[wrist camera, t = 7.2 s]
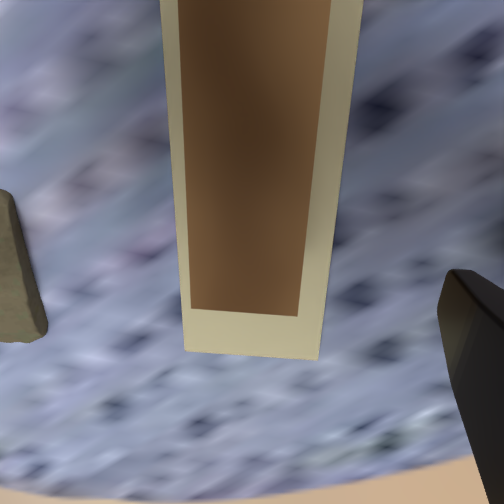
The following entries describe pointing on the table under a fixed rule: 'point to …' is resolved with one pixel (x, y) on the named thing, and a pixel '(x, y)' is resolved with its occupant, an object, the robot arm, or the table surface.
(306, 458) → the table surface
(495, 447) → the robot arm
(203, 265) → the slat
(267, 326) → the board
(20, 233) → the stone slab
